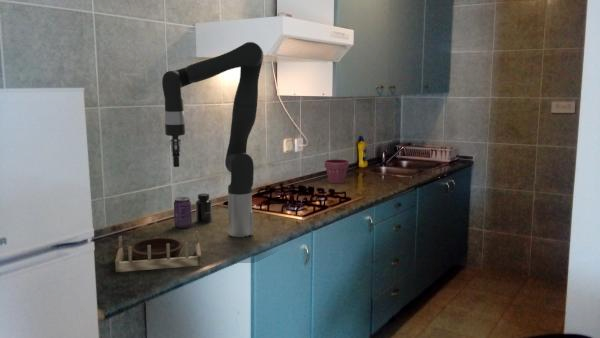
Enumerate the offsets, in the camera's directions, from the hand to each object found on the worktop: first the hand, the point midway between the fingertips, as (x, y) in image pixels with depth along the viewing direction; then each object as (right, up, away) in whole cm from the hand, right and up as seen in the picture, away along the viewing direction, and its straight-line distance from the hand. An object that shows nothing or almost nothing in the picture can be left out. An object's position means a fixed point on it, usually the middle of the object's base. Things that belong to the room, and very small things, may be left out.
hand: (176, 166), depth 209 cm
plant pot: (+71, -9, +105) cm, 127 cm away
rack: (+1, -32, -27) cm, 42 cm away
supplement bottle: (+7, -24, +21) cm, 33 cm away
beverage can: (0, -25, +13) cm, 28 cm away
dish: (-1, -32, -25) cm, 41 cm away
